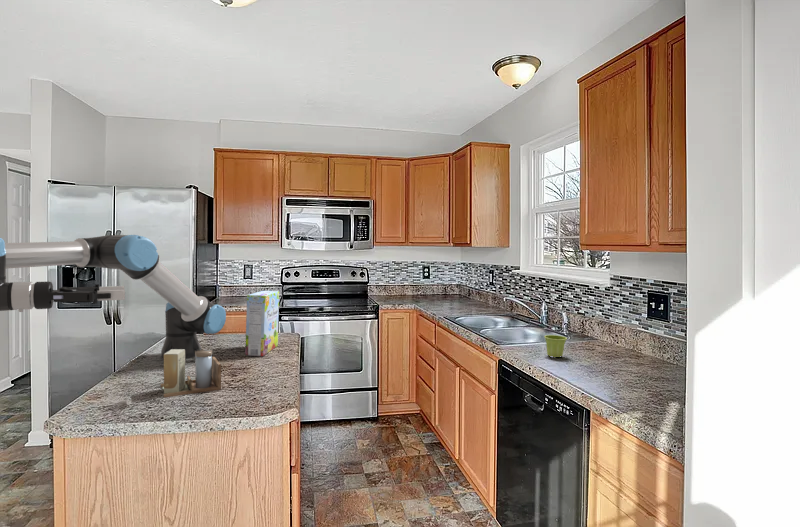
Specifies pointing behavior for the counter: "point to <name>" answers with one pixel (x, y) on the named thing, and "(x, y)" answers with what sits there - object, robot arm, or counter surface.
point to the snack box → (262, 322)
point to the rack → (191, 383)
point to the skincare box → (174, 370)
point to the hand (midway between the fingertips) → (124, 292)
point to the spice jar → (203, 368)
